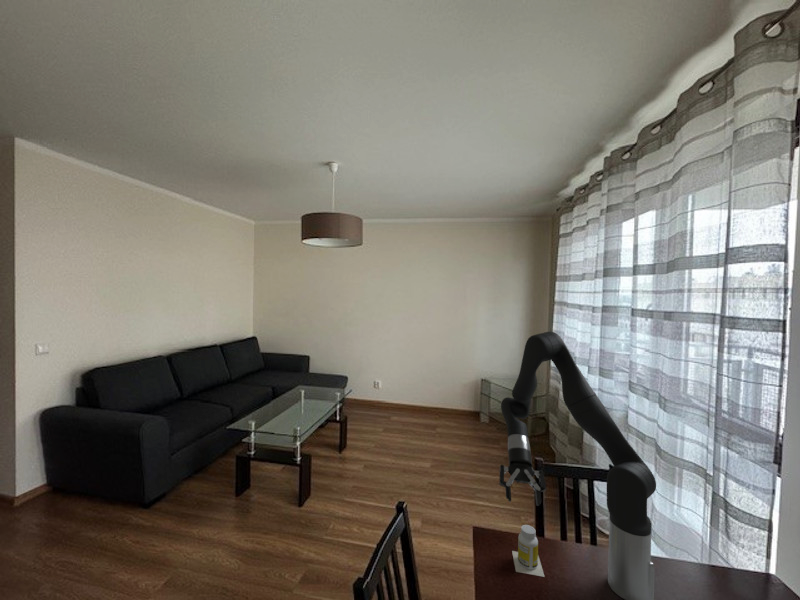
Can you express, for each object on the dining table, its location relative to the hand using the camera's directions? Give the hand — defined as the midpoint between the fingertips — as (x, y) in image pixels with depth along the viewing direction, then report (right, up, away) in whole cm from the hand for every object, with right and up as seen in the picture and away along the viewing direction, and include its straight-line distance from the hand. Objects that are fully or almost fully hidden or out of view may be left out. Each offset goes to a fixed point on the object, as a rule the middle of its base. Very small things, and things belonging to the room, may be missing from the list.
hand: (523, 502), depth 104 cm
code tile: (-2, -12, -8) cm, 15 cm away
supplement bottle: (-2, -13, -8) cm, 15 cm away
